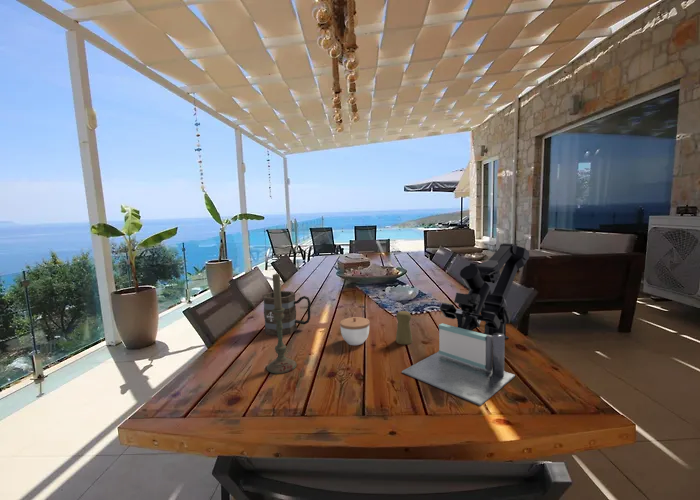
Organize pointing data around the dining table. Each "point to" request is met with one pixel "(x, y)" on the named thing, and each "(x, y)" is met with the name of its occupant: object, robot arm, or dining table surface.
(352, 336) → the lidded jar
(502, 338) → the gate post
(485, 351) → the gate
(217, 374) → the dining table surface
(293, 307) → the mug
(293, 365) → the candlestick holder
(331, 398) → the dining table surface
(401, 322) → the olive green shaker
